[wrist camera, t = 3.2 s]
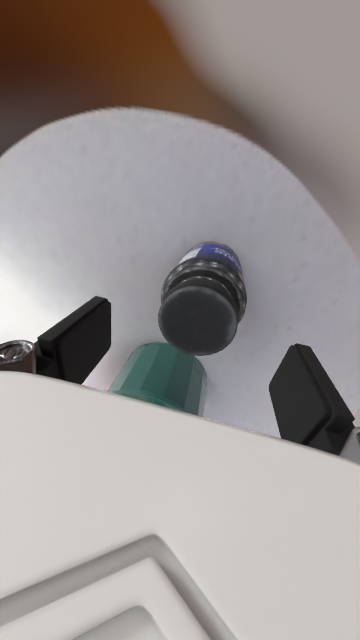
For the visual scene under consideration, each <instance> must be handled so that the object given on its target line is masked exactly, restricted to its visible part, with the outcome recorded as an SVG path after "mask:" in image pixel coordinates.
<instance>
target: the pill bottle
mask: <svg viewBox="0 0 360 640" xmlns="http://www.w3.org/2000/svg"><path fill="white" fill-rule="evenodd" d="M246 300H247V296H246V290H245V285H244V280H243V275H242V270H241V265H240V262H239V259H238V257H237V256H236V254H235V253H234V252H233V250H231V249H230V248H229V247H227V246H226V245H223V244H218V243H214V242H205V243H202V244H199V245H197V246H195V247H194V248H192V249H191V250H190V251H189V252H188V253H187V254H186V255H185V257H184V258H183V259H182V260H181V261H180V262H179V264H178V265H177V266H176V267H175V268H174V269H173V270H172V271H171V272H170V274H169V275H168V277H167V278H166V280H165V282H164V284H163V287H162V291H161V307H160V310H159V313H158V322H159V327H160V330H161V332H162V334H163V336H164V338H165V339H166V340H167V341H168V342H169V343H170V344H171V345H172V346H173V347H175V348H176V349H178V350H180V351H182V352H184V353H187V354H190V355H197V356H204V355H211V354H214V353H217V352H219V351H221V350H223V349H224V348H225V347H227V346H228V345H229V344H230V343H231V341H232V340H233V338H234V336H235V334H236V331H237V326H238V323H239V322H240V321H241V319H242V317H243V315H244V312H245V308H246V302H247V301H246Z"/></svg>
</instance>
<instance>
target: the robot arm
mask: <svg viewBox="0 0 360 640" xmlns="http://www.w3.org/2000/svg"><path fill="white" fill-rule="evenodd" d="M110 346H111V303H110V302H108V299H106V298H102V297H98V296H95V297H94V298H92V299H91V300H89V301H88V302H87V303H85V304H84V305H82V306H81V307H80V308H78V309H77V310H75V311H74V312H73V313H71V314H70V315H68V316H67V317H66V318H64V319H63V320H61V321H60V322H59V323H57V324H56V325H54V326H53V327H52V328H50V329H49V330H47V331H46V332H45V333H43V334H42V335H40V336H39V337H38V341H37V342H35V343H34V344H33V343H32V342H30V341H26V340H14V341H9V342H6V343H3V344H0V640H360V427H355V426H354V425H353V423H352V422H353V421H354V420H355V418H354V417H353V415H352V413H351V412H350V410H349V409H348V407H347V405H346V404H345V402H344V401H343V399H342V397H341V396H340V394H339V392H338V391H337V389H336V388H335V386H334V384H333V383H332V381H331V380H330V378H329V376H328V375H327V373H326V371H325V370H324V368H323V367H322V365H321V363H320V362H319V360H318V359H317V357H316V355H315V354H314V352H313V350H312V349H311V347H310V346H306V345H302V344H298V343H297V344H295V345H294V346H293V345H291V346H290V347H289V349H288V351H287V353H286V355H285V356H284V358H283V360H282V362H281V364H280V366H279V367H278V369H277V371H276V373H275V375H274V377H273V378H272V380H271V382H270V384H269V392H270V396H271V400H272V404H273V408H274V412H275V416H276V420H277V424H278V428H279V432H280V436H281V439H280V438H277V437H273V436H270V435H266V434H262V433H259V432H255V431H252V430H248V429H244V428H241V427H237V426H233V425H230V424H226V423H223V422H219V421H215V420H212V419H208V418H204V417H200V416H197V415H193V414H189V413H186V412H182V411H178V410H175V409H171V408H167V407H163V406H160V405H156V404H152V403H148V402H145V401H141V400H137V399H133V398H130V397H126V396H122V395H118V394H114V393H111V392H107V391H103V390H99V389H95V388H92V387H88V386H84V385H81V384H82V383H83V382H84V381H85V379H86V378H87V377H88V376H89V374H90V373H91V372H92V370H93V369H94V368H95V367H96V365H97V364H98V363H99V362H100V360H101V359H102V358H103V356H104V355H105V354H106V353H107V351H108V350H109V349H110Z"/></svg>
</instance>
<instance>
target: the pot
mask: <svg viewBox="0 0 360 640" xmlns="http://www.w3.org/2000/svg"><path fill="white" fill-rule="evenodd" d="M206 384H207V383H206V374H205V371H204V369H203V367H202V365H201V364H200V362H199V361H198V360H197V359H196V358H195V357H194V356H193V355H190V354H187V353H184V352H182V351H180V350H178V349H176V348H175V347H173V346H172V345H171V344H168V343H149V344H146V345H143V346H141V347H139V348H137V349H136V350H135V351H134V352H133V353H132V354H131V356H130V357H129V359H128V360H127V362H126V363H125V365H124V367H123V368H122V370H121V371H120V373H119V374H118V376H117V378H116V379H115V381H114V382H113V384H112V385H111V387H110V389H109V390H108V392H111V391H115V390H122V389H135V390H143V391H147V392H151V393H155V394H158V395H160V396H163V397H165V398H167V399H169V400H171V401H173V402H175V403H177V404H178V405H180V406H181V407H183V408H184V409H185V410H186V411H188V412H189V413H190V414H193V415H197V416H200V417H203V411H204V402H205V393H206Z"/></svg>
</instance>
